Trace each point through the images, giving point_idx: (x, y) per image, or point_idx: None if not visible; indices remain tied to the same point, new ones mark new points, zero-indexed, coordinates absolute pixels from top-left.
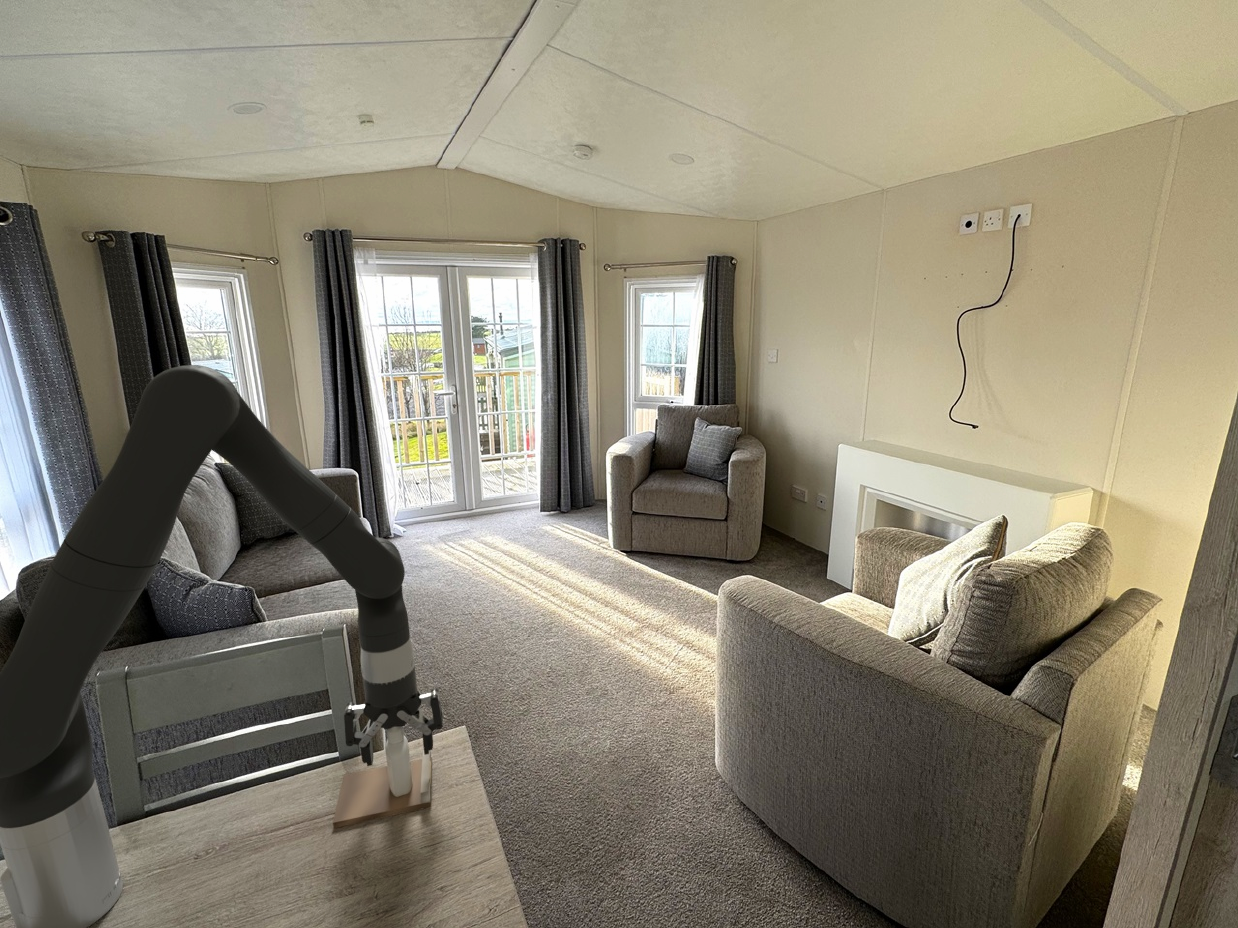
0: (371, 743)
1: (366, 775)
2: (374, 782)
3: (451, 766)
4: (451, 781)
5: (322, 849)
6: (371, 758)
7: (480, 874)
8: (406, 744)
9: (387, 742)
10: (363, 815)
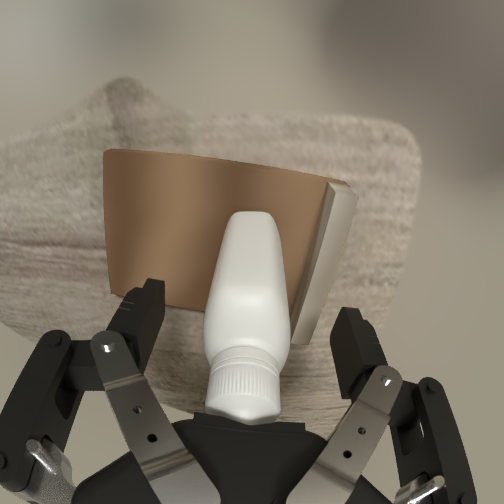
0: (145, 324)
1: (160, 178)
2: (183, 215)
3: (382, 221)
4: (365, 268)
5: (111, 318)
6: (158, 325)
7: (329, 416)
8: (281, 369)
9: (210, 351)
10: (166, 303)
